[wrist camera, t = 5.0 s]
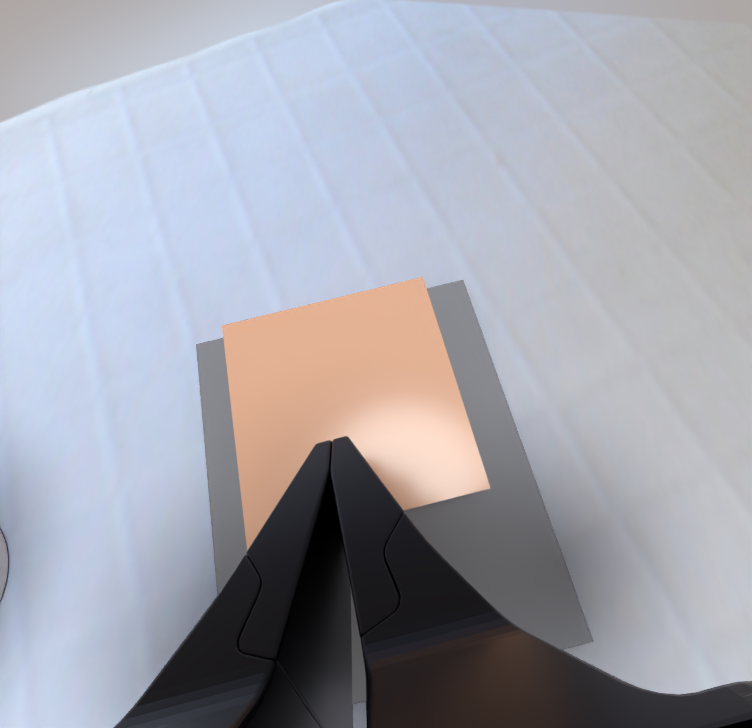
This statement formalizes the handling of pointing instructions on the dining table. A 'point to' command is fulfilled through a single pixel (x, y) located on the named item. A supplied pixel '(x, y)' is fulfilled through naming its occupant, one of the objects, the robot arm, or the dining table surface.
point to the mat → (440, 519)
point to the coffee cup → (3, 564)
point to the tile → (349, 397)
